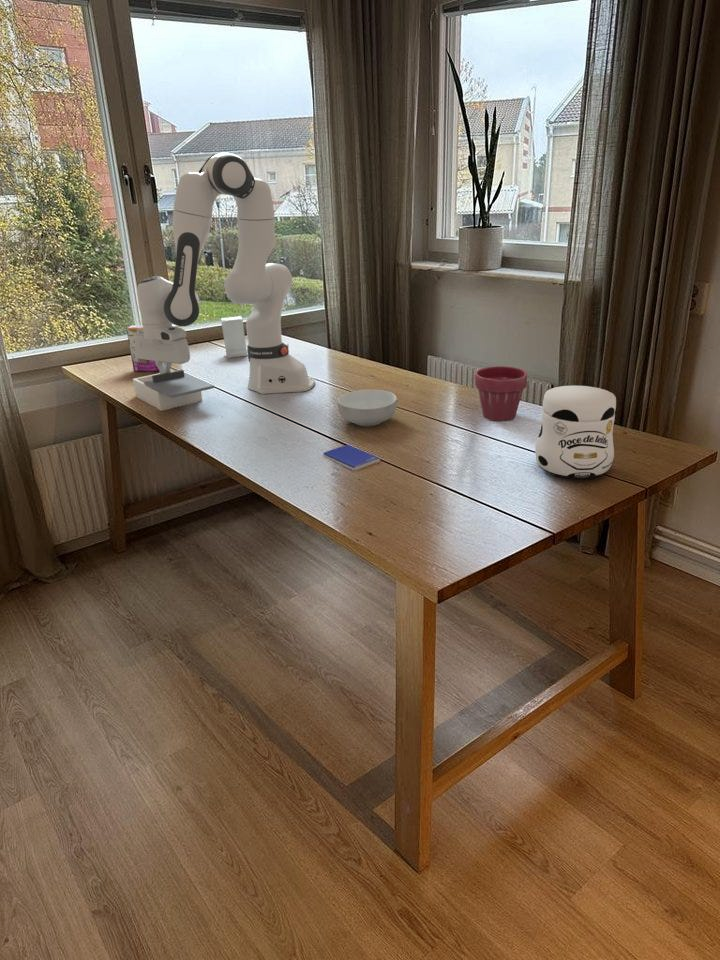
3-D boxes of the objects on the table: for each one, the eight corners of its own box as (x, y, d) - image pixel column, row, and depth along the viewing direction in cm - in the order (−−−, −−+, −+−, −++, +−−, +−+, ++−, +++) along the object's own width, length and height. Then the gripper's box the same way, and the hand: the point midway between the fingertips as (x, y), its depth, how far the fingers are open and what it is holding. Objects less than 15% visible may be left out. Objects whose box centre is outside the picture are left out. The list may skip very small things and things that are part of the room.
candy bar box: (133, 372, 249) (125, 328, 242) (138, 368, 254) (130, 325, 247) (162, 372, 248) (155, 327, 241) (167, 368, 252) (160, 324, 246)
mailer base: (135, 396, 221) (132, 378, 219) (175, 387, 229) (172, 370, 226) (161, 410, 207) (157, 392, 204) (202, 400, 214) (199, 382, 212)
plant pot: (463, 416, 193) (464, 372, 187) (495, 404, 201) (497, 362, 195) (502, 428, 182) (505, 382, 177) (534, 416, 191) (538, 372, 185)
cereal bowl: (330, 417, 196) (329, 393, 193) (383, 408, 201) (383, 386, 198) (350, 436, 181) (349, 411, 178) (406, 426, 187) (406, 402, 184)
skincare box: (246, 352, 270) (242, 315, 264) (247, 356, 265) (243, 318, 258) (225, 354, 268) (220, 317, 262) (225, 358, 263) (221, 320, 257)
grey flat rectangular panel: (144, 384, 211) (142, 375, 210) (185, 375, 219) (184, 366, 218) (171, 398, 197) (169, 388, 196) (214, 388, 205) (213, 379, 204)
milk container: (579, 492, 146) (588, 413, 138) (518, 467, 159) (523, 394, 151) (627, 471, 155) (638, 396, 147) (565, 449, 168) (572, 379, 160)
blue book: (380, 457, 165) (348, 443, 174) (354, 466, 160) (323, 452, 169) (380, 463, 165) (348, 449, 174) (354, 472, 161) (323, 458, 170)
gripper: (126, 330, 211) (134, 373, 217) (175, 335, 201) (182, 380, 207) (141, 326, 216) (148, 368, 222) (189, 331, 206) (196, 375, 212)
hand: (165, 374), depth 214 cm, fingers closed
